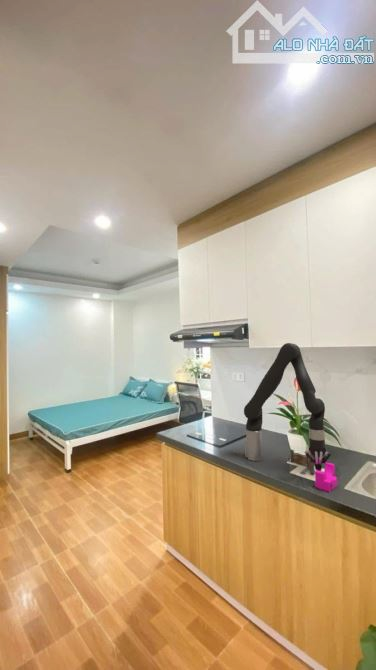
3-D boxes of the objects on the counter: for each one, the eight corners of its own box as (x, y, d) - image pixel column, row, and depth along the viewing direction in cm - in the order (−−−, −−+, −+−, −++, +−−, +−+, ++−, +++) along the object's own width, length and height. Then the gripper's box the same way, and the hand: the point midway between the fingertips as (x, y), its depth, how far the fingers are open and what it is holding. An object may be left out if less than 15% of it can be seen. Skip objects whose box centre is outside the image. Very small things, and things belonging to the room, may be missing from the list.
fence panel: (307, 467, 151) (307, 456, 151) (311, 467, 150) (310, 456, 151) (310, 474, 142) (310, 463, 142) (314, 475, 142) (314, 463, 142)
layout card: (277, 469, 151) (277, 468, 151) (290, 459, 162) (290, 459, 162) (320, 483, 135) (320, 482, 135) (331, 471, 146) (331, 470, 146)
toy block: (329, 492, 126) (328, 476, 127) (315, 487, 131) (315, 471, 131) (340, 481, 137) (340, 465, 137) (327, 477, 141) (326, 462, 142)
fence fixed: (290, 461, 159) (289, 450, 159) (291, 460, 160) (291, 449, 160) (309, 467, 151) (309, 455, 151) (311, 466, 152) (310, 454, 152)
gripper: (327, 435, 148) (329, 468, 147) (301, 434, 150) (303, 467, 149) (332, 439, 141) (334, 474, 140) (305, 439, 143) (307, 473, 142)
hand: (318, 470), depth 145 cm, fingers closed
